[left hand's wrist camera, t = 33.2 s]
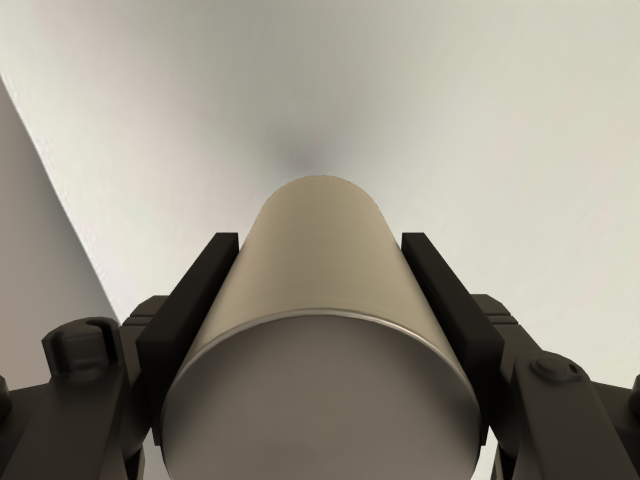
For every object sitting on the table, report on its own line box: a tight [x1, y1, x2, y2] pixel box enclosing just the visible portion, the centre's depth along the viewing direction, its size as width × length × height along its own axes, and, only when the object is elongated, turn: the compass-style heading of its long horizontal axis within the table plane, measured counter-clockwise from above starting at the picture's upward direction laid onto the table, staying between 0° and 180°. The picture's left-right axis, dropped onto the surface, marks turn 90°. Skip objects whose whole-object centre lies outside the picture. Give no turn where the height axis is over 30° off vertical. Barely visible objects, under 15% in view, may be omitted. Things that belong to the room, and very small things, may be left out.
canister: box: [159, 175, 482, 480], centre depth 12 cm, size 6×6×11 cm
